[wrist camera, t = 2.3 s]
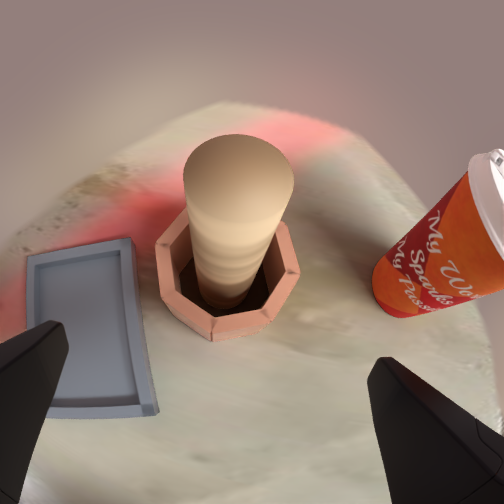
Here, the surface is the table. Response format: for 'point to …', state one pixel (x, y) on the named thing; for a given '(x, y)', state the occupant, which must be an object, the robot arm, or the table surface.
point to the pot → (236, 325)
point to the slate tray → (94, 329)
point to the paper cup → (449, 247)
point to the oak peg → (233, 212)
